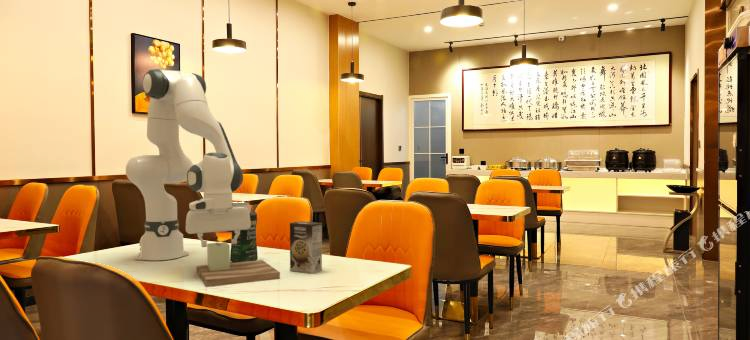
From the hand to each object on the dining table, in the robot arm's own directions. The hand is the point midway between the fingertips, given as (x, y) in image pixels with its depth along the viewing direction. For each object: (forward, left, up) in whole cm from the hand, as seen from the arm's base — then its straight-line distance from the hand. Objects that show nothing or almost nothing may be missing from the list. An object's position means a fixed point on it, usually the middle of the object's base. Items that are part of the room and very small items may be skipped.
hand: (219, 245), depth 169 cm
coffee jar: (-17, +12, -10) cm, 23 cm away
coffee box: (+8, +27, -10) cm, 29 cm away
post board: (+4, +5, -10) cm, 11 cm away
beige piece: (0, 0, -8) cm, 8 cm away
